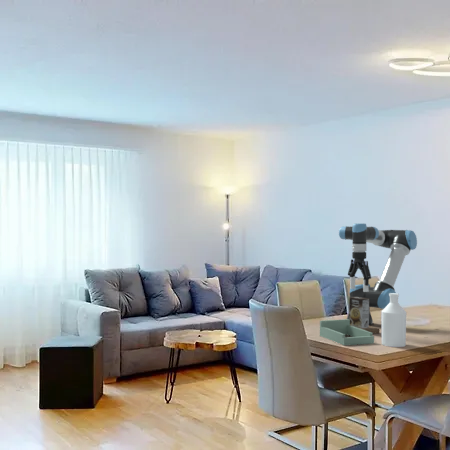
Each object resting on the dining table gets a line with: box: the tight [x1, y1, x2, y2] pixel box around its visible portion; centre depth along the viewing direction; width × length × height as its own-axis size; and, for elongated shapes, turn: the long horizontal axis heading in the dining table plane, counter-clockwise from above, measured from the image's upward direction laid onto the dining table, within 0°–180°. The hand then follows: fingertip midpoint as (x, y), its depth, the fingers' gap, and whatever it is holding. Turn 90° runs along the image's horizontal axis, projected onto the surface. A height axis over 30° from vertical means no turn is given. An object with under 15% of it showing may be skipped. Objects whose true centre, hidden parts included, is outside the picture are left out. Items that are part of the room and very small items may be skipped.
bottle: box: [381, 293, 407, 348], centre depth 291 cm, size 12×12×25 cm
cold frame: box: [319, 318, 375, 346], centre depth 302 cm, size 25×17×8 cm
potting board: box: [360, 325, 380, 334], centre depth 325 cm, size 16×16×2 cm
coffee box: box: [348, 296, 370, 329], centre depth 325 cm, size 9×6×16 cm
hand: (359, 290), depth 325 cm, fingers open, 13 cm apart
